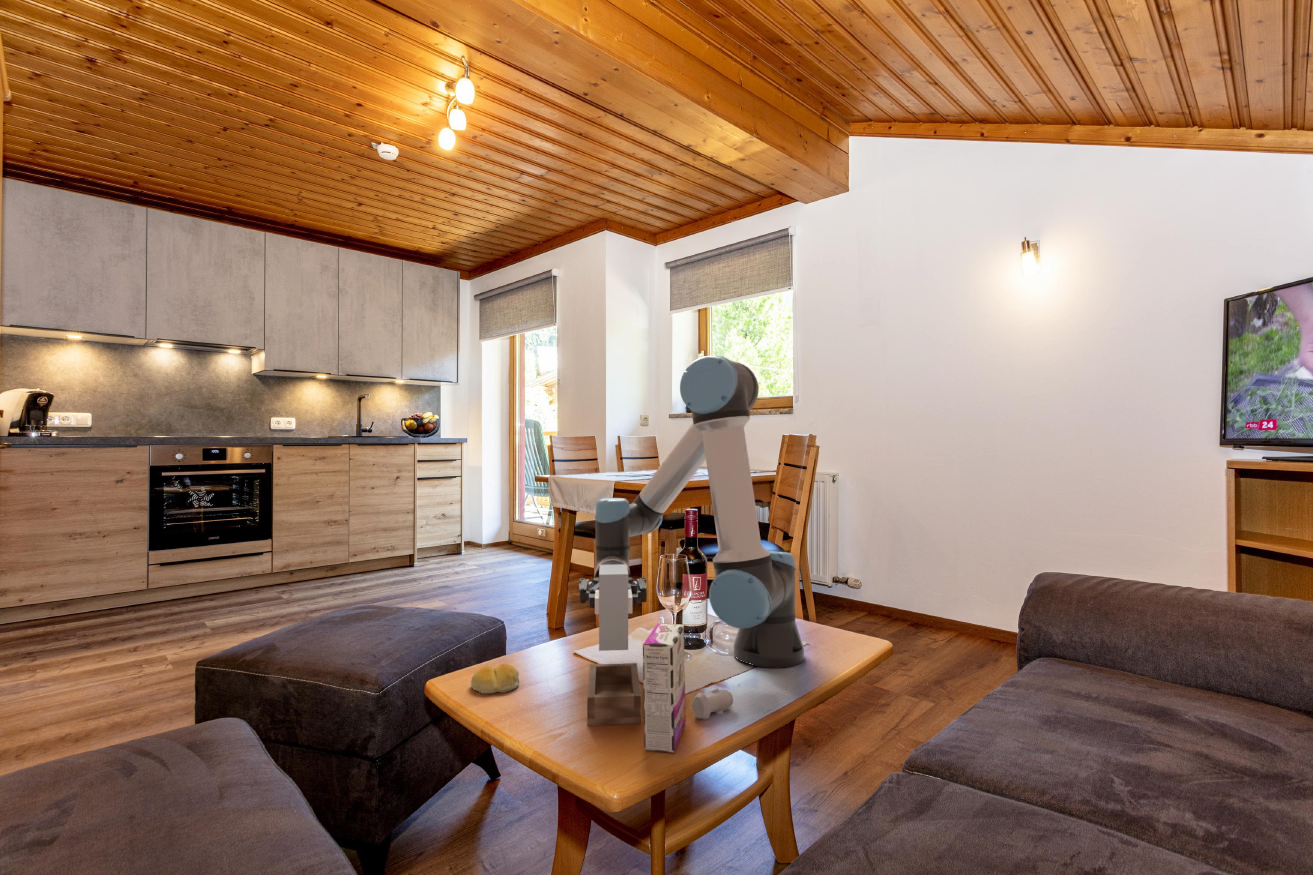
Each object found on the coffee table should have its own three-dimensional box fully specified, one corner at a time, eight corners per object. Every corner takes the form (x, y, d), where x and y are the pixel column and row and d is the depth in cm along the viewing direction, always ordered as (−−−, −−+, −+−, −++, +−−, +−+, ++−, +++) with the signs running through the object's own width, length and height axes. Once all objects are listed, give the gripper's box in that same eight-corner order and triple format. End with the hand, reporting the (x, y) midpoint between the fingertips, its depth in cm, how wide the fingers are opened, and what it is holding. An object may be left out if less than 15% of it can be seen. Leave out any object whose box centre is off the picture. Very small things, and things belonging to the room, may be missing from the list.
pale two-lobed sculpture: (720, 710, 113) (740, 710, 109) (686, 721, 108) (705, 721, 105) (716, 685, 114) (735, 684, 111) (681, 694, 110) (700, 694, 106)
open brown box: (637, 686, 121) (636, 663, 121) (641, 722, 105) (641, 695, 105) (589, 688, 120) (589, 664, 120) (587, 724, 104) (587, 697, 104)
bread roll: (472, 681, 125) (472, 660, 125) (519, 677, 127) (519, 657, 127) (469, 697, 117) (469, 675, 117) (518, 693, 119) (518, 671, 119)
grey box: (626, 634, 118) (626, 564, 118) (628, 649, 109) (628, 574, 109) (599, 634, 117) (599, 564, 117) (599, 650, 108) (599, 574, 108)
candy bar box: (656, 720, 106) (656, 622, 107) (686, 722, 105) (685, 623, 106) (641, 751, 95) (641, 642, 96) (674, 754, 94) (674, 644, 95)
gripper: (655, 594, 133) (665, 626, 109) (569, 596, 131) (560, 628, 108) (655, 559, 133) (665, 583, 109) (569, 560, 131) (560, 584, 108)
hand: (613, 605), depth 109 cm, fingers closed on grey box, 5 cm apart
